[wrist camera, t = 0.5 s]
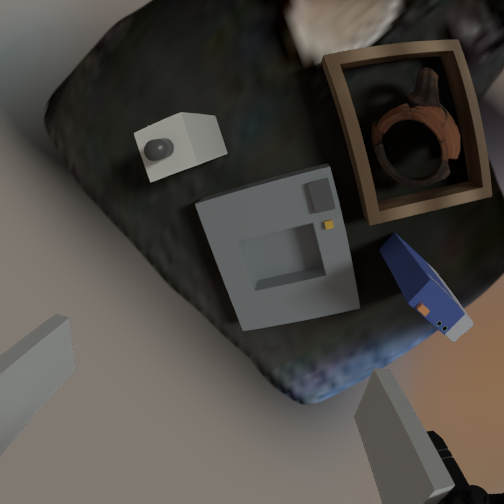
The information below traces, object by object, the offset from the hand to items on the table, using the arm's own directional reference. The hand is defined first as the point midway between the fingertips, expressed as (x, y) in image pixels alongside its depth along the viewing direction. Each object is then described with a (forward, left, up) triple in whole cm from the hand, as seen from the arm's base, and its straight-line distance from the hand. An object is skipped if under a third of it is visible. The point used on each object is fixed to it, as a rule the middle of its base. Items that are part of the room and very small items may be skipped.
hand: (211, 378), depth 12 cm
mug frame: (-17, -6, -24) cm, 30 cm away
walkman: (-14, +9, -25) cm, 30 cm away
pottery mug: (-18, -6, -25) cm, 31 cm away
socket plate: (0, +4, -24) cm, 25 cm away
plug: (+5, -10, -24) cm, 27 cm away
